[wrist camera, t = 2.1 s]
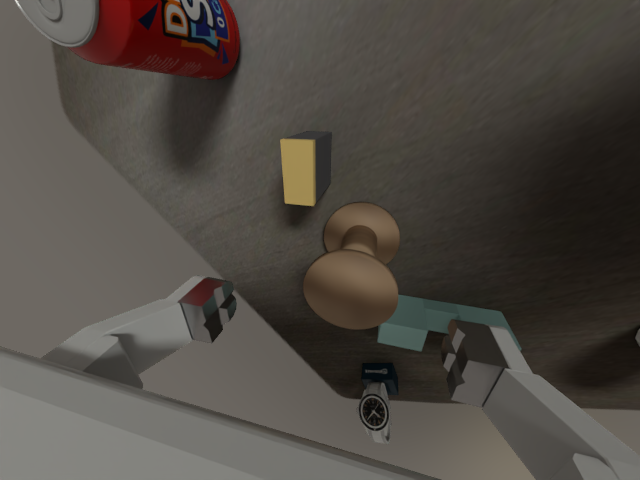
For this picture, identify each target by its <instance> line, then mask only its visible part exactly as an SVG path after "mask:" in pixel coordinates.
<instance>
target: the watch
mask: <svg viewBox="0 0 640 480" xmlns="http://www.w3.org/2000/svg"><path fill="white" fill-rule="evenodd" d="M361 380H362V382H363V384H364V386H365V389H366V390H364V393H363V396H362V398H361V400H360V403H359V407H357V413H359V416H360V420H361V422H362V423H363V425H364V427H365V430H366V433H367V434H369V436H370V438H371V440H372V441H373V442H377V443H387V444H389V441H390V433H391V429H390V427H391V426H390V425H391V412H390V409H391V406H390V403H389V399H388V396H387V395H398V377H397V374H396V372H395V369H394V366H393V363H363V367H362V377H361Z"/></svg>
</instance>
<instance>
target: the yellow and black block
mask: <svg viewBox="0 0 640 480" xmlns="http://www.w3.org/2000/svg"><path fill="white" fill-rule="evenodd" d="M331 139H332V132H314V131H306V132H303V133H300V134H297V135H293V136H290V137H287V138H284V139H281V140H280V141H281V155H282V169H283V183H284V197H285V204H296V205H306V206H314V205H315V204H316V202H317V201H318V200H319V198H320V197H321V196H322V194H323V193H324V192H325V190H326V189H327V188H328V186H329V185H330V178H331Z"/></svg>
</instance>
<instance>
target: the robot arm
mask: <svg viewBox="0 0 640 480" xmlns="http://www.w3.org/2000/svg"><path fill="white" fill-rule="evenodd" d="M233 290H234V288H233V284H232V282H230V281H226V280H221V279H216V278H210V277H204V276H200V275H197V276H193V277H192V278H191V279H190V280H188V281H187V282H186V283H185V284H183V285H182V286H181V287H180V288H178V289H177V290H176V291H175V292H173V293H172V294H171V295H170V296H169V297H167V298H166V299H165V300H162V299H160V300H158V301H155V302H153V303H150V304H147V305H144V306H142V307H139V308H136V309H134V310H131V311H128V312H125V313H123V314H120V315H117V316H115V317H112V318H109V319H107V320H104V321H101V322H98V323H96V324H93V325H90V326H88V327H85V328H84V329H82V330H81V331H79V332H78V333H76V334H75V335H74V336H72V337H70V338H69V339H68V340H66V341H65V342H63V343H62V344H60V345H59V346H58V347H56V348H55V349H53V350H52V351H50V352H49V353H47V354H46V355H45V356H43V357H42V358H37V357H33V356H30V355H26V354H23V353H20V352H17V351H14V350H10V349H7V348H3V347H0V480H441V479H437V478H434V477H431V476H427V475H424V474H421V473H417V472H414V471H411V470H408V469H404V468H401V467H398V466H394V465H391V464H388V463H385V462H381V461H378V460H375V459H371V458H368V457H364V456H361V455H358V454H355V453H351V452H348V451H345V450H342V449H338V448H335V447H332V446H328V445H325V444H321V443H318V442H315V441H312V440H309V439H305V438H302V437H298V436H295V435H292V434H289V433H285V432H282V431H279V430H275V429H272V428H269V427H266V426H262V425H259V424H256V423H252V422H249V421H246V420H242V419H239V418H236V417H232V416H229V415H226V414H222V413H219V412H216V411H212V410H209V409H206V408H202V407H199V406H196V405H192V404H189V403H186V402H182V401H179V400H176V399H172V398H169V397H166V396H163V395H159V394H156V393H153V392H149V391H146V390H143V389H142V388H143V383H142V381H141V379H140V377H139V374H140V373H142V372H143V371H145V370H147V369H148V368H150V367H151V366H153V365H155V364H156V363H158V362H159V361H161V360H162V359H164V358H166V357H167V356H169V355H170V354H172V353H174V352H175V351H176V350H178V349H180V348H182V347H183V346H185V345H186V344H188V343H189V342H191V341H192V340H197V341H203V342H207V343H213V342H214V340H215V339H216V338H217V337H218V335H219V334H220V333H221V331H222V330H223V324H225V323H227V322H229V321H230V320H231V318H232V317H233V315H234V313H235V310H236V298H235V297H234V296H233V295H232V292H233ZM447 328H448V332H449V334H448V335H447V336H445V337H444V339H443V342H442V349H441V355H442V362H443V366H444V367H445V368H446V370H447V371H448V372H449V373H448V376H447V378H446V380H447V384H448V388H449V392H450V397H451V400H454V401H458V402H462V403H466V404H469V405H473V406H477V407H481V408H482V410H483V411H484V412H485V414H486V415H487V416H488V418H489V419H490V420H491V422H492V423H493V424H494V425H495V427H496V428H497V429H498V431H499V432H500V433H501V435H502V436H503V437H504V439H505V440H506V441H507V442H508V444H509V445H510V446H511V448H512V449H513V450H514V452H515V453H516V454H517V455H518V457H519V458H520V459H521V461H522V462H523V463H524V465H525V466H526V467H527V469H528V470H529V471H530V473H531V474H532V475H533V476H534V478H535V479H536V480H640V456H639V455H638V454H637V453H635V452H634V451H633V450H631V449H630V448H629V447H628V446H627V445H625V444H624V443H623V442H622V441H620V440H619V439H618V438H617V437H615V436H614V435H613V434H612V433H610V432H609V431H608V430H607V429H605V428H604V427H603V426H602V425H600V424H599V423H598V422H597V421H595V420H594V419H593V418H592V417H590V416H589V415H588V414H587V413H585V412H584V411H583V410H582V409H581V408H579V407H578V406H577V405H576V404H574V403H573V402H572V401H571V400H569V399H568V398H567V397H566V396H564V395H563V394H562V393H561V392H559V391H558V390H557V389H556V388H554V387H553V386H552V385H551V384H549V383H548V382H547V381H546V380H544V379H543V378H542V377H541V376H539V375H535V374H533V373H532V371H531V370H530V368H529V366H528V365H527V363H526V361H525V359H524V358H523V356H522V354H521V352H520V351H519V349H518V347H517V346H516V344H515V342H514V340H513V339H512V337H511V335H510V334H509V332H508V330H507V329H506V328H504V327H501V326H494V325H488V324H480V323H474V322H467V321H461V320H455V319H451V321H450V322H449V324H448V327H447Z"/></svg>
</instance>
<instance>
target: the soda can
mask: <svg viewBox="0 0 640 480" xmlns="http://www.w3.org/2000/svg"><path fill="white" fill-rule="evenodd" d="M14 1H15V3H16V4H17V6H18V7H19V9H20V10H21V12H22V13H23V14H24V16H25V17H26V18H27V19H28V20H29V21H30V23H31V24H32V25H33V26H34V27H35V28H36V29H37V30H38V31H39V32H40V33H42V34H43V35H44V36H45V37H47V38H48V39H50V40H51V41H53V42H55V43H57V44H59V45H62V46H65V47H67V48H69V49H70V50H71V51H72V52H74V53H75V54H76V55H78V56H79V57H81V58H83V59H85V60H87V61H90V62H93V63H96V64H101V65H107V66H114V67H122V68H129V69H136V70H143V71H150V72H157V73H165V74H172V75H179V76H186V77H193V78H200V79H208V80H215V79H220V78H222V77H224V76H226V75H227V74H228V73H229V72H230V71H231V70H232V69H233V67H234V65H235V63H236V61H237V58H238V53H239V46H240V37H239V29H238V24H237V21H236V18H235V15H234V13H233V10H232V8H231V7H230V5H229V3H228V2H227V0H14Z"/></svg>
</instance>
